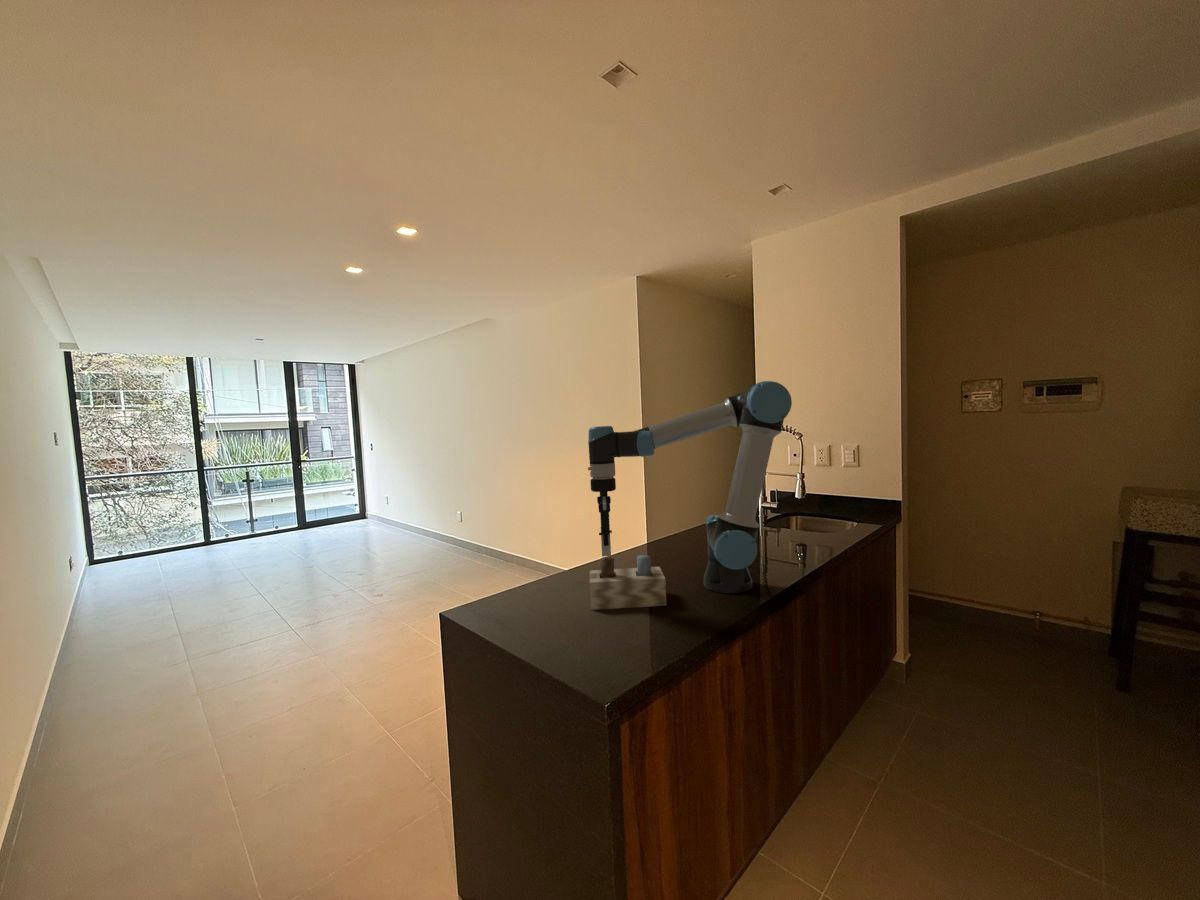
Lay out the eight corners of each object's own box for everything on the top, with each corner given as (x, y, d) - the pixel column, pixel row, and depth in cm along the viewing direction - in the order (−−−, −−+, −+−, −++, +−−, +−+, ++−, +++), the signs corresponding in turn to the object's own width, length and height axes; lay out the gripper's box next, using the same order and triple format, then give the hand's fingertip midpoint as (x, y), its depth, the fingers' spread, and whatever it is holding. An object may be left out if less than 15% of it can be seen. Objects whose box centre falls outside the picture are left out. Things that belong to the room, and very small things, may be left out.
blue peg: (650, 580, 146) (649, 554, 146) (652, 584, 142) (650, 558, 142) (637, 581, 146) (636, 555, 146) (638, 585, 142) (637, 559, 142)
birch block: (660, 591, 150) (659, 566, 150) (666, 605, 138) (665, 578, 138) (591, 595, 150) (589, 570, 150) (591, 609, 138) (589, 582, 138)
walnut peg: (614, 582, 146) (613, 556, 145) (615, 586, 142) (613, 559, 141) (601, 583, 146) (600, 557, 145) (601, 587, 142) (600, 560, 141)
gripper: (590, 476, 149) (594, 550, 150) (590, 480, 136) (594, 562, 137) (614, 475, 149) (617, 549, 150) (616, 479, 136) (620, 560, 137)
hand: (606, 555), depth 143 cm, fingers closed
